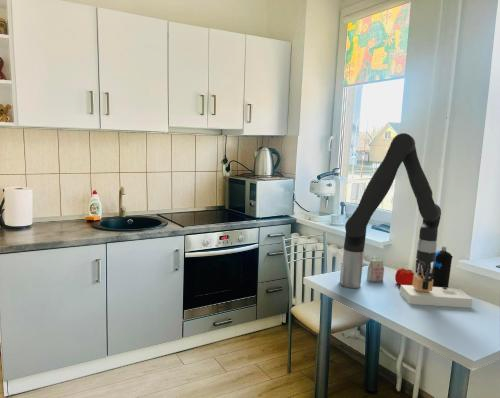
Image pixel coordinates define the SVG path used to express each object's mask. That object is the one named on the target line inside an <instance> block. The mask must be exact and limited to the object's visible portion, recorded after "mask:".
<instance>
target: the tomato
mask: <svg viewBox="0 0 500 398" xmlns="http://www.w3.org/2000/svg"><path fill="white" fill-rule="evenodd" d="M413 275H415V273H414V272H413V270H412V269H405V268H403V267H401V268H398V269H397V270H396V272H395V277H394V281H395V282H396V284H398V285H399V286H401V285H412V284H413Z"/></svg>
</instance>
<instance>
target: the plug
mask: <svg viewBox="0 0 500 398" xmlns="http://www.w3.org/2000/svg"><path fill="white" fill-rule="evenodd" d="M424 274H426V273H424ZM425 277H426V276H425ZM412 286H413V287H414V288H415V289H416V291H418V292H420V290H421V291H425V292H424V293H426V291H432V287H433V279H432V282H430V281H429V284H428V289H427V290H424V289H422V286H423V276H422V273H421V275H417V274H414V275H413V284H412Z"/></svg>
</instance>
